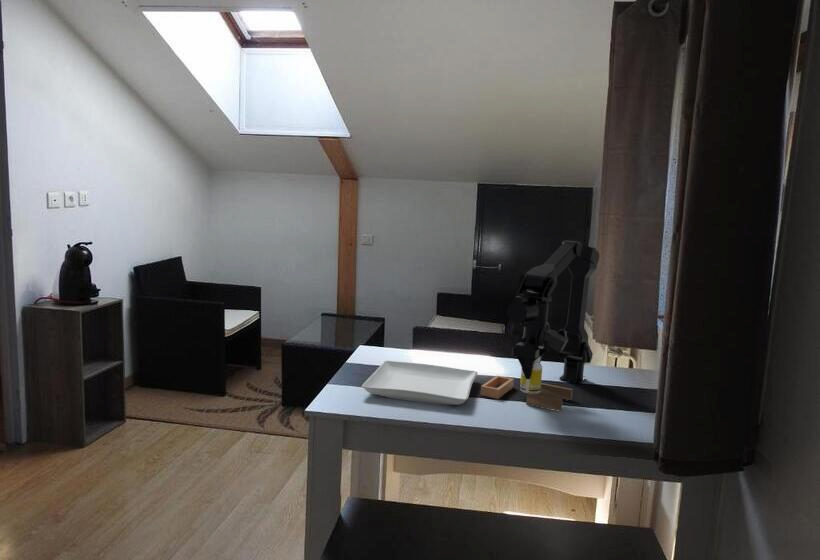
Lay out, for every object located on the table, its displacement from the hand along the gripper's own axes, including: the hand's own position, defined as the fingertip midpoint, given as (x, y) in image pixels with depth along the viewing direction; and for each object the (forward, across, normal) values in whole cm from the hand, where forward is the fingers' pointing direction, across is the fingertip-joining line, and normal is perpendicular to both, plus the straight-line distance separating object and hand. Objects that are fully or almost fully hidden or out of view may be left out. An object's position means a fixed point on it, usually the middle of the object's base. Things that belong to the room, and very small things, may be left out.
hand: (531, 376), depth 171 cm
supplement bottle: (+4, 0, 0) cm, 4 cm away
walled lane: (+6, 0, -5) cm, 8 cm away
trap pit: (+6, 0, +9) cm, 11 cm away
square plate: (+6, -11, +27) cm, 29 cm away
